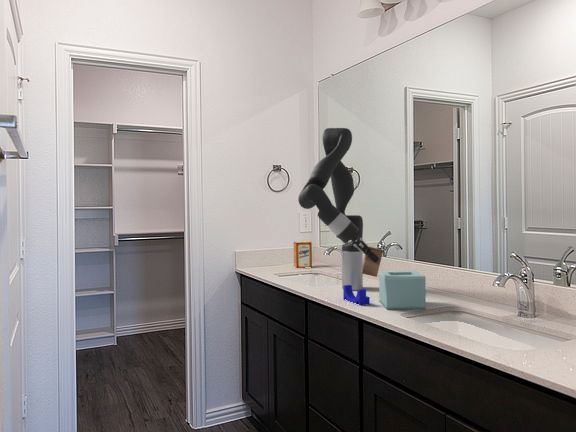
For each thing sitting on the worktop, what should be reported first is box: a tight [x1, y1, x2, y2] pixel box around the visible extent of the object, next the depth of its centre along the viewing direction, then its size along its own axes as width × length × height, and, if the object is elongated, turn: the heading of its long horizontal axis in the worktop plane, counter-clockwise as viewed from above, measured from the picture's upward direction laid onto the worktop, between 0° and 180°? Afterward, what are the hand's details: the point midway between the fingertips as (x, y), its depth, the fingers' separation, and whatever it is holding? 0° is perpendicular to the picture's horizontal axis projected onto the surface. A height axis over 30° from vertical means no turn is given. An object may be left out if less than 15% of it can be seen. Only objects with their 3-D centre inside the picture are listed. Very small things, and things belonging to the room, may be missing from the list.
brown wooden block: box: [361, 245, 384, 278], centre depth 165 cm, size 3×6×10 cm, turn 89°
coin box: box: [378, 270, 427, 311], centre depth 169 cm, size 14×14×12 cm
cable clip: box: [342, 285, 371, 306], centre depth 176 cm, size 12×4×6 cm, turn 23°
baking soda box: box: [293, 240, 313, 269], centre depth 274 cm, size 10×6×16 cm
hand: (376, 260), depth 165 cm, fingers closed on brown wooden block, 2 cm apart
